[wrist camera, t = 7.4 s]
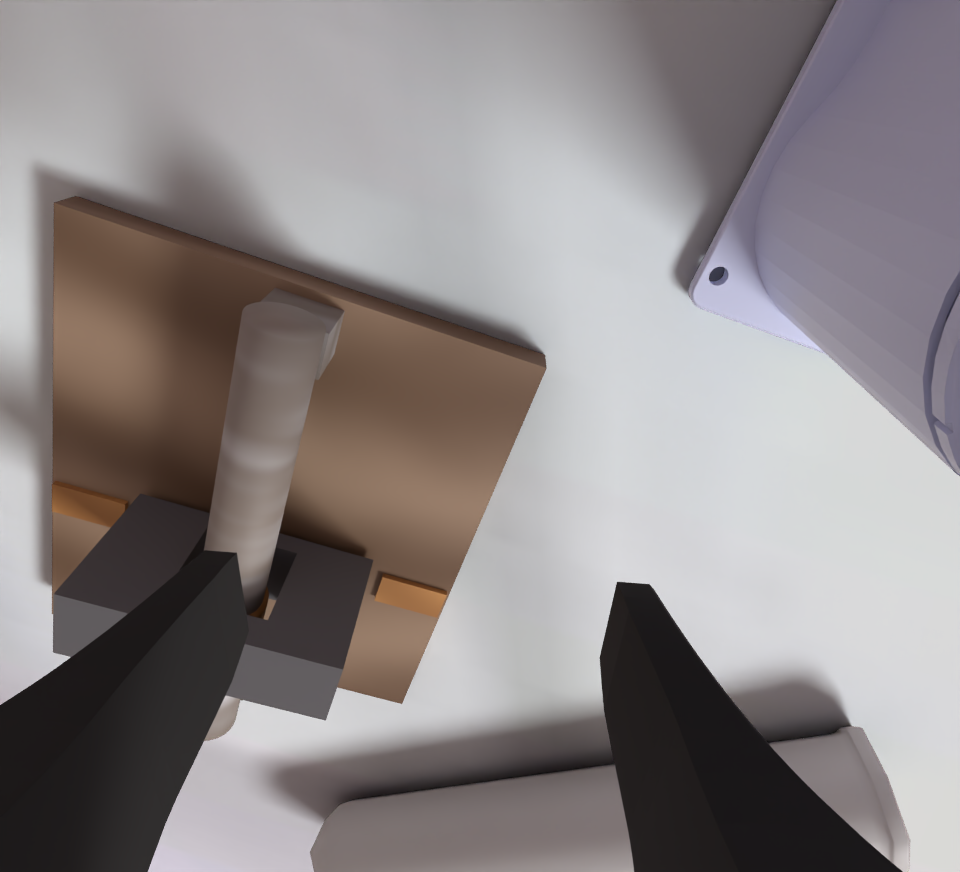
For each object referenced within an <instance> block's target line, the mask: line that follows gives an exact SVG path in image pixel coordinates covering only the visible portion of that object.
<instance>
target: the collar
mask: <svg viewBox="0 0 960 872" xmlns="http://www.w3.org/2000/svg"><path fill="white" fill-rule="evenodd" d="M209 516H210V513H207V512H204V511H200V510H197V509H193V508H190V507H186V506H183V505H179V504H176V503H172V502H169V501H165V500H161V499H158V498H154V497H151V496H147V495H144V494H139V496H138V497H137V498H136V499H135V500H134V501H133V503H132V504H131V505H130V506H129V507H128V508H127V509H126V511H125V512H124V513H123V514H122V515H121V516H120V518H119V519H118V520H117V521H116V522H115V523H114V525H113V526H112V527H111V528H110V529H109V530H108V531H107V533H106V534H105V535H104V536H103V537H102V538H101V540H100V541H99V542H98V543H97V544H96V545H95V547H94V548H93V549H92V550H91V551H90V552H89V554H88V555H87V556H86V557H85V558H84V559H83V560H82V562H81V563H80V564H79V565H78V566H77V567H76V569H75V570H74V571H73V572H72V573H71V574H70V576H69V577H68V578H67V579H66V580H65V581H64V582H63V584H62V585H61V586H60V587H59V588H58V589H57V591H56V592H55V593H54V594H53V652H54V653H58V654H62V655H66V656H70V657H72V656H73V655H75V654H76V653H77V652H79V651H80V650H82V649H83V648H84V647H86V646H87V645H88V644H90V643H91V642H92V641H94V640H95V639H96V638H98V637H99V636H100V635H102V634H103V633H104V632H106V631H107V630H108V629H109V628H111V627H112V626H113V625H114V624H116V623H117V622H118V621H119V620H121V619H122V618H123V617H124V616H126V615H127V614H128V613H129V612H131V611H132V610H133V609H134V608H136V607H137V606H138V605H139V604H141V603H142V602H143V601H144V600H145V599H147V598H148V597H149V596H150V595H151V594H153V593H154V592H155V591H156V590H157V589H159V588H160V587H161V586H162V585H163V584H165V583H166V582H167V581H168V580H169V579H171V578H172V577H173V576H174V575H175V574H176V573H178V572H179V571H180V570H181V569H182V568H184V567H185V566H186V565H187V564H189V563H190V562H191V561H192V560H193V559H195V558H196V557H197V556H198V555H200V554H201V553H202V552H203V551H204V547H205V541H206V535H207V529H208V522H209ZM372 564H373V560H372V559H369V558H365V557H362V556H358V555H355V554H351V553H348V552H344V551H340V550H337V549H333V548H330V547H326V546H323V545H319V544H316V543H312V542H309V541H305V540H302V539H298V538H295V537H291V536H288V535H284V534H281V533H279V535H278V539H277V544H276V548H275V552H274V557H273V561H272V565H271V570H270V574H269V578H268V582H267V588H268V591H269V599H272V600H276V603H275V605H274V607H273V609H272V612H271V614H270V616H269V619H268V620H265V619H261V618H257V617H254V616H250V615H247V621H248V628H249V632H248V635H247V638H246V641H245V644H244V648H243V651H242V654H241V657H240V660H239V663H238V666H237V669H236V671H235V674H234V677H233V680H232V683H231V685H230V687H229V689H228V691H227V693H226V696H230V697H234V698H238V699H242V700H246V701H250V702H254V703H258V704H262V705H266V706H270V707H274V708H278V709H282V710H286V711H290V712H294V713H298V714H302V715H306V716H310V717H314V718H318V719H322V720H326V718H327V715H328V712H329V709H330V706H331V703H332V700H333V698H334V695H335V692H336V689H337V686H338V683H339V680H340V677H341V674H342V671H343V668H344V665H345V661H346V657H347V654H348V650H349V647H350V643H351V639H352V636H353V632H354V629H355V625H356V621H357V618H358V614H359V611H360V607H361V603H362V600H363V596H364V593H365V589H366V585H367V582H368V578H369V575H370V571H371V567H372Z"/></svg>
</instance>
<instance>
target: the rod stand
mask: <svg viewBox="0 0 960 872" xmlns="http://www.w3.org/2000/svg"><path fill="white" fill-rule="evenodd" d="M545 370H546V360H545V355H544V354H541V353H538V352H535V351H532V350H529V349H526V348H523V347H520V346H518V345H515V344H512V343H509V342H506V341H503V340H500V339H497V338H494V337H491V336H488V335H485V334H482V333H479V332H476V331H473V330H470V329H467V328H464V327H461V326H458V325H455V324H452V323H450V322H447V321H444V320H441V319H438V318H435V317H432V316H429V315H426V314H423V313H420V312H417V311H414V310H411V309H408V308H405V307H402V306H399V305H396V304H393V303H390V302H387V301H384V300H382V299H379V298H376V297H373V296H370V295H367V294H364V293H361V292H358V291H355V290H352V289H349V288H346V287H343V286H340V285H337V284H334V283H331V282H328V281H325V280H322V279H319V278H317V277H314V276H311V275H308V274H305V273H302V272H299V271H296V270H293V269H290V268H287V267H284V266H281V265H278V264H275V263H272V262H269V261H266V260H263V259H260V258H257V257H254V256H251V255H249V254H246V253H243V252H240V251H237V250H234V249H231V248H228V247H225V246H222V245H219V244H216V243H213V242H210V241H207V240H204V239H201V238H198V237H195V236H192V235H189V234H186V233H183V232H181V231H178V230H175V229H172V228H169V227H166V226H163V225H160V224H157V223H154V222H151V221H148V220H145V219H142V218H139V217H136V216H133V215H130V214H127V213H124V212H121V211H118V210H116V209H113V208H110V207H107V206H104V205H101V204H98V203H95V202H92V201H89V200H86V199H83V198H80V197H77V196H75V197H71V198H68V199H65V200H61V201H58V202H55V203H54V288H53V484H52V614H53V594H54V593H55V592H56V591H57V589H58V588H59V587H60V586H61V585H62V584H63V582H64V581H65V580H66V579H67V578H68V577H69V576H70V574H71V573H72V572H73V571H74V570H75V569H76V567H77V566H78V565H79V564H80V563H81V562H82V560H83V559H84V558H85V557H86V556H87V555H88V554H89V552H90V551H91V550H92V549H93V548H94V547H95V545H96V544H97V543H98V542H99V541H100V540H101V538H102V537H103V536H104V535H105V534H106V533H107V531H108V530H109V529H110V528H111V527H112V526H113V525H114V523H115V522H116V521H117V520H118V519H119V518H120V516H121V515H122V514H123V513H124V512H125V511H126V509H127V508H128V507H129V506H130V505H131V504H132V503H133V501H134V500H135V499H136V498H137V497H138V496H139V494H144V495H147V496H151V497H154V498H158V499H161V500H165V501H169V502H172V503H176V504H179V505H183V506H186V507H190V508H193V509H197V510H200V511H204V512H207V513H210V516H209V522H208V529H207V535H206V541H205V547H204V551H205V550H208V551H221V552H234V553H237V557H238V563H239V570H240V576H241V583H242V589H243V595H244V602H245V608H246V615H250V616H254V617H257V618H261V619H265V620H268V619H269V616H270V614H271V612H272V609H273V607H274V605H275V603H276V600H272V599H269V591H268V588H267V582H268V578H269V574H270V570H271V565H272V561H273V557H274V552H275V548H276V544H277V539H278V535H279V533H281V534H284V535H288V536H291V537H295V538H298V539H302V540H305V541H309V542H312V543H316V544H319V545H323V546H326V547H330V548H333V549H337V550H340V551H344V552H348V553H351V554H355V555H358V556H362V557H365V558H369V559H372V560H373V564H372V567H371V571H370V575H369V578H368V582H367V585H366V589H365V593H364V596H363V600H362V603H361V607H360V611H359V614H358V618H357V621H356V625H355V629H354V632H353V636H352V639H351V643H350V647H349V650H348V654H347V657H346V661H345V665H344V668H343V671H342V674H341V677H340V680H339V683H338V686H337V687H338V688H342V689H346V690H350V691H354V692H358V693H362V694H366V695H370V696H373V697H377V698H381V699H385V700H389V701H393V702H397V703H401V704H402V702H403V700H404V698H405V695H406V693H407V691H408V688H409V686H410V684H411V681H412V679H413V677H414V674H415V672H416V670H417V668H418V665H419V663H420V661H421V658H422V656H423V654H424V651H425V649H426V647H427V644H428V642H429V640H430V637H431V635H432V633H433V630H434V628H435V626H436V623H437V621H438V619H439V616H440V614H441V612H442V609H443V607H444V605H445V603H446V600H447V598H448V596H449V593H450V591H451V589H452V586H453V584H454V582H455V579H456V577H457V575H458V572H459V570H460V568H461V565H462V563H463V561H464V558H465V556H466V554H467V551H468V549H469V547H470V544H471V542H472V540H473V538H474V535H475V533H476V531H477V528H478V526H479V524H480V521H481V519H482V517H483V514H484V512H485V510H486V507H487V505H488V503H489V500H490V498H491V496H492V493H493V491H494V489H495V486H496V484H497V482H498V479H499V477H500V475H501V473H502V470H503V468H504V466H505V463H506V461H507V459H508V456H509V454H510V452H511V449H512V447H513V445H514V442H515V440H516V438H517V435H518V433H519V431H520V428H521V426H522V424H523V421H524V419H525V417H526V414H527V412H528V410H529V408H530V405H531V403H532V401H533V398H534V396H535V394H536V391H537V389H538V387H539V384H540V382H541V380H542V377H543V375H544V373H545ZM240 700H242V699H238V698H234V697H230V696H225V698H224V700H223V702H222V704H221V706H220V708H219V710H218V712H217V715H216V717H215V719H214V721H213V723H212V725H211V727H210V729H209V731H208V733H207V736H206V738H205V740H204V741H208V740H213V739H216V738H219V737H221V736H222V735H224V734H225V733H227V732H228V731H229V730H230V729H231V727H232V726H233V724H234V722H235V719H236V716H237V711H238V707H239V703H240Z"/></svg>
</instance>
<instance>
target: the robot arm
mask: <svg viewBox="0 0 960 872" xmlns="http://www.w3.org/2000/svg"><path fill="white" fill-rule="evenodd" d="M716 267H724V270H725V271H724V275H723V276H722V278H721V279H720V280H717V281H709V275H710V272H711V271H712V270H713V269H714V268H716ZM689 297H690V299H691V300H692V302H693V303H694V304H695V305H696V306H697V307H699V308H700V309H703V310H706V311H708V312H711V313H714V314H717V315H720V316H722V317H725V318H728V319H731V320H733V321H736V322H739V323H742V324H745V325H747V326H750V327H753V328H756V329H758V330H761V331H764V332H767V333H770V334H772V335H775V336H778V337H781V338H783V339H786V340H789V341H792V342H795V343H797V344H800V345H803V346H806V347H808V348H811V349H814V350H817V351H820V352H822V353H825V354H827V355H828V356H829V357H830V358H831V359H832V360H833V361H835V362H836V363H837V364H838V365H839V366H840V367H841V368H842V369H843V370H844V371H845V372H846V373H848V374H849V375H850V376H851V377H852V378H853V379H854V380H855V381H856V382H857V383H858V384H860V385H861V386H862V387H863V388H864V389H865V390H866V391H867V392H868V393H869V394H870V395H871V396H873V397H874V398H875V399H876V400H877V401H878V402H879V403H880V404H881V405H882V406H883V407H885V408H886V409H887V410H888V411H889V412H890V413H891V414H892V415H893V416H894V417H895V418H896V419H898V420H899V421H900V422H901V423H902V424H903V425H904V426H905V427H906V428H907V429H908V430H910V431H911V432H912V433H913V434H914V435H915V436H916V437H917V438H918V439H919V440H920V441H921V442H923V443H924V444H925V445H926V446H927V447H928V448H929V449H930V450H931V451H932V452H933V453H935V454H936V455H937V456H938V457H939V458H940V459H941V460H942V461H943V462H944V463H945V464H946V465H948V466H949V467H950V468H951V469H952V470H953V471H954V472H955V473H957V474H958V475H959V476H960V0H837V1H836V3H835V5H834V7H833V9H832V11H831V13H830V15H829V17H828V19H827V21H826V22H825V24H824V26H823V28H822V30H821V32H820V34H819V36H818V38H817V40H816V42H815V44H814V46H813V48H812V50H811V51H810V53H809V55H808V57H807V59H806V61H805V63H804V65H803V67H802V69H801V71H800V73H799V75H798V77H797V78H796V80H795V82H794V84H793V86H792V88H791V90H790V92H789V94H788V96H787V98H786V100H785V102H784V104H783V106H782V107H781V109H780V111H779V113H778V115H777V117H776V119H775V121H774V123H773V125H772V127H771V129H770V131H769V133H768V135H767V136H766V138H765V140H764V142H763V144H762V146H761V148H760V150H759V152H758V154H757V156H756V158H755V160H754V162H753V164H752V165H751V167H750V169H749V171H748V173H747V175H746V177H745V179H744V181H743V183H742V185H741V187H740V189H739V191H738V193H737V194H736V196H735V198H734V200H733V202H732V204H731V206H730V208H729V210H728V212H727V214H726V216H725V218H724V220H723V222H722V223H721V225H720V227H719V229H718V231H717V233H716V235H715V237H714V239H713V241H712V243H711V245H710V247H709V249H708V251H707V252H706V254H705V256H704V258H703V260H702V262H701V264H700V266H699V268H698V270H697V272H696V274H695V276H694V278H693V280H692V281H691V283H690V287H689ZM248 632H249V628H248V621H247V615H246V608H245V602H244V595H243V589H242V583H241V576H240V570H239V563H238V557H237V553H234V552H221V551H208V550H205V551H203V552H202V553H201V554H200V555H198V556H197V557H196V558H195V559H193V560H192V561H191V562H190V563H189V564H187V565H186V566H185V567H184V568H182V569H181V570H180V571H179V572H178V573H176V574H175V575H174V576H173V577H172V578H171V579H169V580H168V581H167V582H166V583H165V584H163V585H162V586H161V587H160V588H159V589H157V590H156V591H155V592H154V593H153V594H151V595H150V596H149V597H148V598H147V599H145V600H144V601H143V602H142V603H141V604H139V605H138V606H137V607H136V608H134V609H133V610H132V611H131V612H129V613H128V614H127V615H126V616H124V617H123V618H122V619H121V620H119V621H118V622H117V623H116V624H114V625H113V626H112V627H111V628H109V629H108V630H107V631H106V632H104V633H103V634H102V635H100V636H99V637H98V638H96V639H95V640H94V641H92V642H91V643H90V644H88V645H87V646H86V647H84V648H83V649H82V650H80V651H79V652H77V653H76V654H75V655H73V656H72V657H71V658H69V659H68V660H67V661H65V662H64V663H63V664H61V665H60V666H59V667H57V668H56V669H54V670H53V671H51V672H50V673H49V674H47V675H46V676H44V677H43V678H41V679H40V680H38V681H37V682H35V683H34V684H32V685H31V686H29V687H28V688H26V689H25V690H23V691H22V692H20V693H18V694H17V695H15V696H14V697H12V698H11V699H9V700H7V701H6V702H4V703H3V704H1V705H0V872H148V869H149V866H150V864H151V861H152V858H153V856H154V853H155V850H156V848H157V845H158V842H159V839H160V837H161V834H162V831H163V829H164V826H165V823H166V821H167V819H168V816H169V814H170V812H171V810H172V807H173V805H174V803H175V800H176V798H177V796H178V794H179V792H180V790H181V787H182V785H183V783H184V781H185V779H186V777H187V775H188V773H189V771H190V769H191V767H192V765H193V763H194V760H195V758H196V756H197V754H198V752H199V750H200V748H201V746H202V744H203V742H204V740H205V738H206V736H207V733H208V731H209V729H210V727H211V725H212V723H213V721H214V719H215V717H216V715H217V712H218V710H219V708H220V706H221V704H222V702H223V700H224V698H225V696H226V693H227V691H228V689H229V687H230V685H231V683H232V680H233V677H234V674H235V671H236V669H237V666H238V663H239V660H240V657H241V654H242V651H243V648H244V644H245V641H246V638H247V635H248ZM600 667H601V680H602V692H603V703H604V712H605V717H606V723H607V728H608V733H609V738H610V743H611V748H612V753H613V758H614V763H615V768H616V773H617V778H618V783H619V788H620V793H621V798H622V803H623V808H624V813H625V818H626V823H627V828H628V833H629V839H630V845H631V852H632V858H633V866H634V872H903V871H901V870H900V869H899V868H898V867H897V866H895V865H894V864H893V863H892V862H891V861H890V860H888V859H887V858H886V857H885V856H884V855H882V854H881V853H880V852H879V851H878V850H877V849H876V848H874V847H873V846H872V845H871V844H870V843H869V842H868V841H866V840H865V839H864V838H863V837H862V836H861V835H860V834H859V833H858V832H857V831H855V830H854V829H853V828H852V827H851V826H850V825H849V824H848V823H847V822H846V821H845V820H844V819H843V818H842V817H840V816H839V815H838V814H837V813H836V812H835V811H834V810H833V809H832V808H831V807H830V806H829V805H828V804H826V803H825V802H824V801H823V800H822V799H821V798H820V797H819V796H818V795H817V794H816V793H815V792H814V791H813V790H812V789H811V788H810V787H809V786H808V785H807V784H806V783H805V782H804V781H803V780H802V779H801V778H800V777H799V776H798V775H797V774H796V773H795V772H794V771H793V770H792V769H791V768H790V767H789V766H788V764H787V763H786V762H785V761H784V760H783V759H782V758H781V757H780V756H779V755H778V754H777V753H776V752H775V751H774V749H773V748H772V747H771V746H770V745H769V744H768V743H767V742H766V740H765V739H764V738H763V737H762V736H761V735H760V734H759V732H758V731H757V730H756V729H755V728H754V727H753V725H752V724H751V723H750V722H749V721H748V719H747V718H746V717H745V716H744V714H743V713H742V712H741V711H740V710H739V708H738V707H737V706H736V705H735V703H734V702H733V701H732V700H731V699H730V697H729V696H728V695H727V693H726V692H725V691H724V690H723V688H722V687H721V686H720V684H719V683H718V682H717V680H716V679H715V678H714V676H713V675H712V674H711V672H710V671H709V670H708V668H707V667H706V665H705V664H704V663H703V661H702V660H701V659H700V657H699V656H698V655H697V653H696V652H695V650H694V649H693V648H692V646H691V645H690V643H689V642H688V640H687V639H686V637H685V636H684V635H683V633H682V632H681V630H680V629H679V627H678V626H677V624H676V623H675V621H674V620H673V618H672V617H671V615H670V614H669V612H668V611H667V609H666V608H665V606H664V604H663V603H662V601H661V600H660V598H659V597H658V595H657V594H656V592H655V591H654V589H653V588H652V587H651V586H650V584H638V583H625V582H617V585H616V589H615V594H614V598H613V602H612V607H611V611H610V615H609V620H608V624H607V628H606V633H605V637H604V642H603V646H602V650H601V655H600Z"/></svg>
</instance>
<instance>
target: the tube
mask: <svg viewBox="0 0 960 872" xmlns="http://www.w3.org/2000/svg"><path fill="white" fill-rule="evenodd" d="M768 744H769V745H770V746H771V747H772V748H773V749H774V751H775V752H776V753H777V754H778V755H779V756H780V757H781V758H782V759H783V760H784V761H785V762H786V763H787V764H788V766H789V767H790V768H791V769H792V770H793V771H794V772H795V773H796V774H797V775H798V776H799V777H800V778H801V779H802V780H803V781H804V782H805V783H806V784H807V785H808V786H809V787H810V788H811V789H812V790H813V791H814V792H815V793H816V794H817V795H818V796H819V797H820V798H821V799H822V800H823V801H824V802H825V803H826V804H828V805H829V806H830V807H831V808H832V809H833V810H834V811H835V812H836V813H837V814H838V815H839V816H840V817H842V818H843V819H844V820H845V821H846V822H847V823H848V824H849V825H850V826H851V827H852V828H853V829H854V830H855V831H857V832H858V833H859V834H860V835H861V836H862V837H863V838H864V839H865V840H866V841H868V842H869V843H870V844H871V845H872V846H873V847H874V848H876V849H877V850H878V851H879V852H880V853H881V854H882V855H884V856H885V857H886V858H887V859H888V860H890V861H891V862H892V863H893V864H894V865H895V866H897V867H898V868H899V869H900V870H901V871H903V872H908V871H909V865H910V838H909V836H908V833H907V830H906V827H905V824H904V821H903V819H902V816H901V813H900V810H899V807H898V805H897V802H896V799H895V796H894V793H893V790H892V788H891V785H890V782H889V779H888V777H887V775H886V773H885V771H884V769H883V767H882V765H881V763H880V761H879V759H878V757H877V755H876V753H875V751H874V750H873V748H872V746H871V744H870V742H869V740H868V738H867V736H866V734H865V732H864V730H863V729H862V728H860V727H854V726H847V727H841V728H838V730H837V731H836V732H835V733H832V734H828V735H821V736H814V737H807V738H799V739H792V740H785V741H778V742H770V743H768ZM310 854H311V859H312V863H313V868H314V872H634V866H633V858H632V852H631V845H630V839H629V833H628V828H627V823H626V818H625V813H624V808H623V803H622V798H621V793H620V788H619V783H618V778H617V773H616V768H615V764H610V765H603V766H596V767H589V768H581V769H574V770H567V771H560V772H552V773H545V774H538V775H530V776H523V777H516V778H509V779H501V780H494V781H487V782H480V783H472V784H465V785H458V786H450V787H443V788H436V789H429V790H421V791H414V792H407V793H400V794H392V795H385V796H378V797H370V798H363V799H356V800H352V801H349V802H346V803H342V804H340V805H339V806H338V807H337V808H336V809H335V810H334V811H333V812H332V813H331V814H330V815H329V816H328V817H327V818H326V819H325V821H324V823H323V825H322V827H321V830H320V832H319V834H318V836H317V838H316V840H315V843H314V845H313V847H312V849H311V851H310Z"/></svg>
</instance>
